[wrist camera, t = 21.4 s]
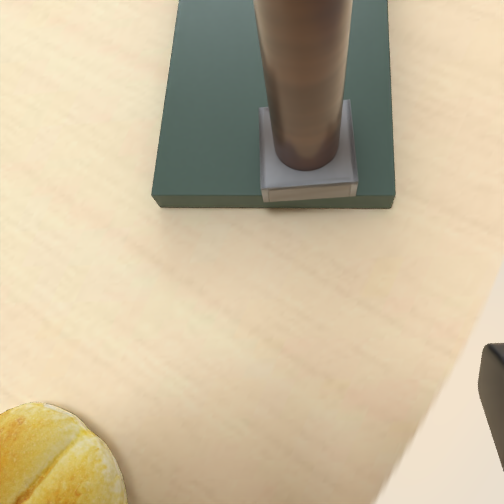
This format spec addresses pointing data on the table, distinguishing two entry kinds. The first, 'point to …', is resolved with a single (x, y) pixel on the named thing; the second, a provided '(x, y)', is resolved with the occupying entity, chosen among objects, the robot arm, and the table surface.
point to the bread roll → (55, 459)
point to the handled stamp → (305, 100)
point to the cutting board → (247, 110)
